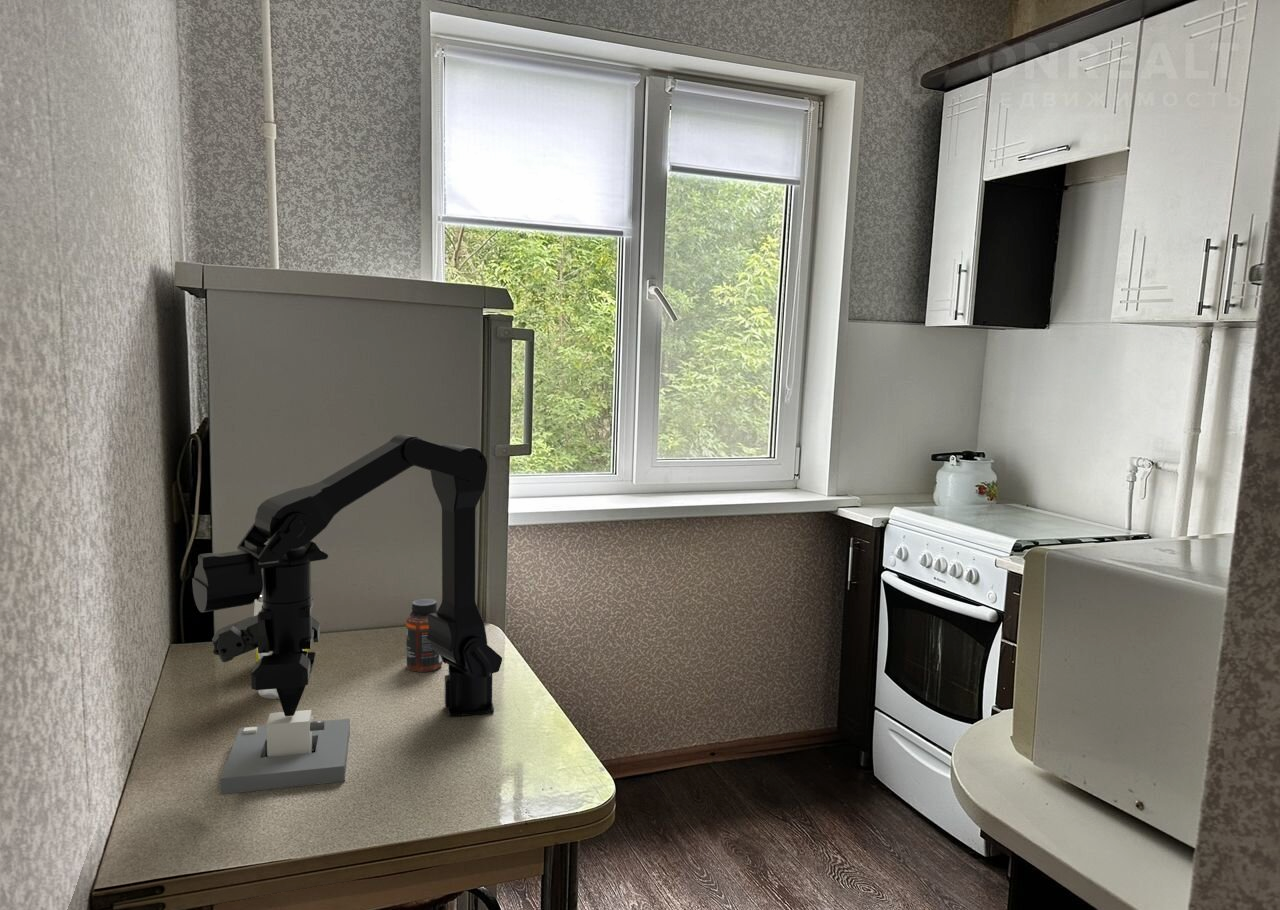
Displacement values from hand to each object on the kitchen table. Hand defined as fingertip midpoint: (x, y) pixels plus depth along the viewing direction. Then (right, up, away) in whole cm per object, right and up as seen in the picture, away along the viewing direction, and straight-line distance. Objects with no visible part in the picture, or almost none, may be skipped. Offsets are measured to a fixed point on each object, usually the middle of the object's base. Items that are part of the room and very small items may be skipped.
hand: (289, 715), depth 109 cm
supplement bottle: (+9, -3, +34) cm, 36 cm away
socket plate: (0, -6, +1) cm, 6 cm away
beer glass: (-11, -3, +22) cm, 25 cm away
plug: (0, -6, +1) cm, 6 cm away
